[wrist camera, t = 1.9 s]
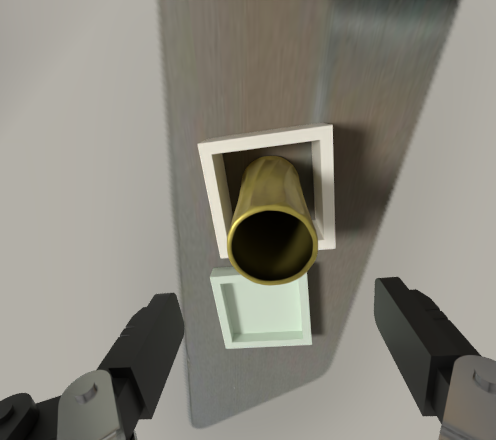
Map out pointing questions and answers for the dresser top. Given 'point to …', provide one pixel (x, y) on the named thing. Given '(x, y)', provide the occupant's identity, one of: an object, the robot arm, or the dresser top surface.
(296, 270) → the vase
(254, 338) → the tray
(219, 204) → the sleeve
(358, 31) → the dresser top surface
